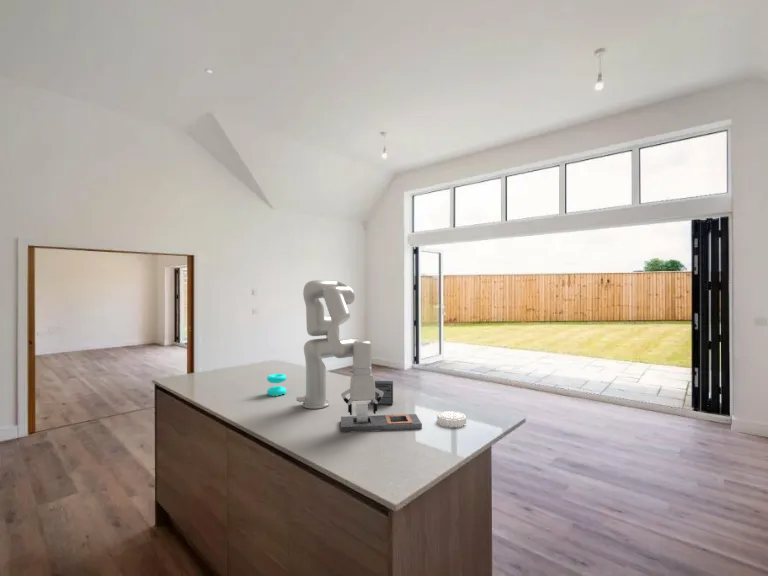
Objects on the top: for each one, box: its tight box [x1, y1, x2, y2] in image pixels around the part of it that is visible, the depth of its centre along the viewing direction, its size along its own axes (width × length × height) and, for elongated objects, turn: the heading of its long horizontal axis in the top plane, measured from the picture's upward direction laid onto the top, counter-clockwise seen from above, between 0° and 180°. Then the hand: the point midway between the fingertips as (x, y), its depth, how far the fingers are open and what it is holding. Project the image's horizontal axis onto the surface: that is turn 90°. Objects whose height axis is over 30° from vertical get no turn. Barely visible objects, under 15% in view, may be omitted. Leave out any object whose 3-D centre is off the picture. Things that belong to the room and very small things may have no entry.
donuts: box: [266, 373, 287, 397], centre depth 201 cm, size 10×10×10 cm
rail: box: [340, 413, 423, 433], centre depth 155 cm, size 32×12×2 cm, turn 96°
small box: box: [370, 380, 394, 406], centre depth 185 cm, size 11×6×10 cm, turn 84°
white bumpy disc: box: [436, 410, 467, 428], centre depth 158 cm, size 12×12×4 cm
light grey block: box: [355, 401, 369, 424], centre depth 154 cm, size 4×4×9 cm
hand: (362, 413), depth 154 cm, fingers open, 9 cm apart
